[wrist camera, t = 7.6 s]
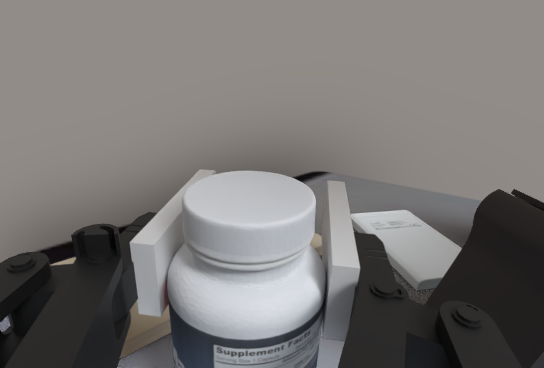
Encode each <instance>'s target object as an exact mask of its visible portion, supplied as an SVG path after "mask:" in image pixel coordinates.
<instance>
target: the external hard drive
mask: <svg viewBox="0 0 544 368" xmlns="http://www.w3.org/2000/svg"><path fill="white" fill-rule="evenodd" d="M351 221H352V226H353V228H354V229H355V230H356V231H357V232H358V233H367V234H375V235H376V236H377V237H378V238H379V239H380V240H381V241H382V242H383V244H384V247H385V250H386V253H387V256H388V259H389V262H390V265H391V266H392V267H393V268H394V269H395V270H396V271H397V272H398V273H399V274H400V275H401V276H402V277H403V278H404V279H405V280H406V281H407V282H408V283H409V284H410V285H411V286H412V287H413V288H414V289H415V290H416V291H419V290H425V289H431V288H436V287H437V286H438V284H439V283H440V281H441V280H442V278H443V277H444V275H445V274H446V272H447V271H448V269H449V267H450V266H451V264H452V263H453V261H454V260H455V258H456V257H457V255H458V254H459V252H460V251H461V249H462V248H461V247H459V246H458V245H456V244H455V243H454V242H452V241H451V240H449V239H448V238H446V237H445V236H443V235H442V234H441V233H439V232H438V231H436V230H435V229H433V228H432V227H430V226H429V225H428V224H426V223H425V222H423V221H422V220H420V219H419V218H417V217H416V216H415V215H413V214H412V213H410V212H409V211H407V210H397V211H385V212H370V213H356V214H351Z"/></svg>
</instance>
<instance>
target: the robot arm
mask: <svg viewBox="0 0 544 368" xmlns="http://www.w3.org/2000/svg"><path fill="white" fill-rule="evenodd" d="M215 174H216V171H214V170H202V169H200V170H199V171H198V172H197V173H196V174H195V175H194V176H193V177H192V178H191V179H190V180H189V181H188V182H187V183H186V184H185V186H183V187H182V188H181V190H180V191H179V192H178V193H177V194H176V195H175V196H174V197H173V198H172V199H171V200H170V201H169V202H168V203H167V204H166V205H165V206H164V207H163V208H162V209H161V210H160V211H159V212H158V213H151V212H148V213H146V214H144V215H142V216H140V217H138V218H137V219H136V220H135V221H134V222H133V223H132V224H131V226H128V227H127V228H126V229H125V231H123V232H122V233H121V234H120V235H119V229H118V228H117V227H116V226H113V225H110V224H97V225H91V226H87V227H84V228H82V229H79V230H77V231H76V232H75V233H73V234H72V235H71V236H72V241H73V246H74V251H75V256H76V260H75V261H74V263H73V264H62V265H51V266H50V263H49V259H48V257H47V256H46V255H45V254H43V253H39V252H27V253H22V254H18V255H16V256H14V257H10V258H8V259H7V260H5V261H3V262H1V263H0V322H1V321H2V320H3V319H4V318H5V317H7V316H8V318H9V322H10V325H11V326H10V327H9V328H8V329H7V330H5V331H4V332H1V331H0V368H117V365H118V362H119V359H120V356H121V352H122V349H123V346H124V343H125V340H126V337H127V333H128V330H129V327H130V324H131V312H130V309H131V308H132V306H133V305H134V304H135V302H136V301H137V303H138V311H139V314H144V315H152V316H159V317H161V316H162V314H163V312H164V311H165V309H166V307H167V306H168V304H169V303H168V290H167V277H168V271H169V267H170V264H171V262H172V260H173V258H174V256H175V254H176V253H177V251H178V250H179V249H180V248H181V247H182V245H183V244H184V243H185V238H184V234H183V213H182V198H183V195H184V192H185V191H186V189H187V188H188V187H189V186H190V185H192V184H193V183H195V182H196V181H198V180H200V179H202V178H205V177H208V176H211V175H215ZM322 262H323V264H324V268H325V272H326V296H325V304H324V311H323V339H331V340H338V341H345V343H344V347H343V351H342V354H341V358H340V362H339V365H338V368H522V367H521V365H520V363H519V362H518V360H517V358H516V357H515V355H514V353H513V352H512V350H511V348H510V347H509V345H508V343H507V342H506V340H505V338H504V337H503V335H502V333H501V332H500V330H499V328H498V327H497V325H496V323H495V322H494V321H493V319H492V318H491V317H490V316H489V315H488V314H487V313H485V312H484V311H483V310H481V309H480V308H478V307H476V306H474V305H471V304H469V303H466V302H462V301H447V302H445V303H443V304H442V305H441V307H440V309H439V310H436V309H433V308H430V307H427V306H424V305H421V304H419V303H416V302H414V301H413V300H411V299H409V297H408V293H407V291H406V290H405V289H404V287H403V286H401V285H400V284H398V283H397V282H396V281H395V278H394V274H393V271H392V268H391V265H390V262H389V259H388V256H387V253H386V250H385V247H384V244H383V242H382V241H381V240H380V239H379V238H378V237H377V236H376V235H375V234H367V233H357V232H353V226H352V221H351V215H350V210H349V204H348V199H347V194H346V188H345V183H344V182H339V181H327V190H326V199H325V207H324V216H323V225H322Z"/></svg>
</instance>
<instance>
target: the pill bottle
mask: <svg viewBox="0 0 544 368" xmlns="http://www.w3.org/2000/svg"><path fill="white" fill-rule="evenodd" d="M315 210H316V199H315V195H314V193H313V191H312V190H311V189H310V188H309V187H308V186H306V185H305V184H304V183H302V182H300V181H298V180H296V179H294V178H291V177H288V176H284V175H280V174H276V173H270V172H261V171H233V172H225V173H220V174H215V175H211V176H208V177H205V178H202V179H200V180H198V181H196V182H195V183H193V184H192V185H190V186H189V187H188V188H187V189H186V191H185V192H184V195H183V198H182V213H183V234H184V238H185V243H184V244H183V245H182V247H181V248H180V249H179V250H178V251H177V253H176V254H175V256H174V258H173V260H172V262H171V264H170V267H169V271H168V277H167V290H168V303H169V314H170V324H171V335H172V349H173V358H174V367H175V368H316V365H317V357H318V349H319V341H320V334H321V326H322V318H323V311H324V304H325V296H326V272H325V268H324V264H323V262H322V260H321V258H320V256H319V254H318V253H317V252H316V250H315V249H314V248H313V247H312V245H311V244H310V242H311V240H312V238H313V236H314V230H315Z"/></svg>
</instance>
